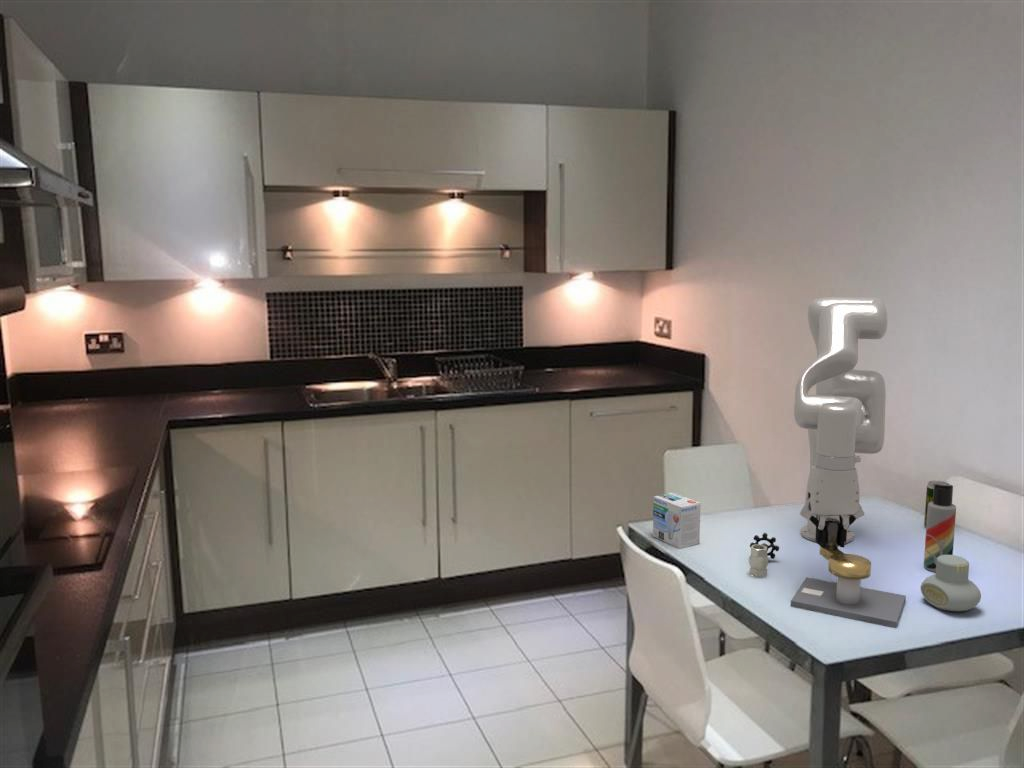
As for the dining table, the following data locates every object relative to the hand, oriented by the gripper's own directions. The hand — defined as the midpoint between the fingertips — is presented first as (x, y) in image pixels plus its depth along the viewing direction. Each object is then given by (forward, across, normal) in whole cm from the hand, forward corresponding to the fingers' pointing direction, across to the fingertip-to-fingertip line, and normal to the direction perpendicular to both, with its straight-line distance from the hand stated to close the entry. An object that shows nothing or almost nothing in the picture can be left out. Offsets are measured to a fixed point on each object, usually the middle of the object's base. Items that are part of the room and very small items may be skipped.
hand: (830, 544), depth 181 cm
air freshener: (+11, -22, +9) cm, 26 cm away
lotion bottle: (+10, -29, -10) cm, 32 cm away
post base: (+10, -2, +7) cm, 12 cm away
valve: (+11, +11, -13) cm, 20 cm away
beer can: (+10, -41, -37) cm, 56 cm away
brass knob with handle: (+3, -1, +5) cm, 6 cm away
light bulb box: (+10, +27, -32) cm, 43 cm away
